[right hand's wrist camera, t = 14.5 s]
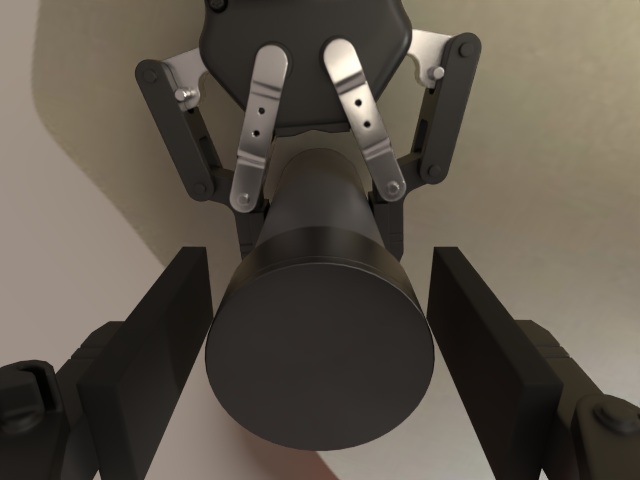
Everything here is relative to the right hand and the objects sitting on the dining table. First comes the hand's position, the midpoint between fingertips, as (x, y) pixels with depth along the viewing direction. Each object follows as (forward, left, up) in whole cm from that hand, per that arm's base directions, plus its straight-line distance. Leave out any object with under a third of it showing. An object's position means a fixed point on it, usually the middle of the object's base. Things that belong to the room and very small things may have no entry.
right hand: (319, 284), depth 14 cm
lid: (0, 0, +4) cm, 4 cm away
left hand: (+1, +2, -6) cm, 7 cm away
